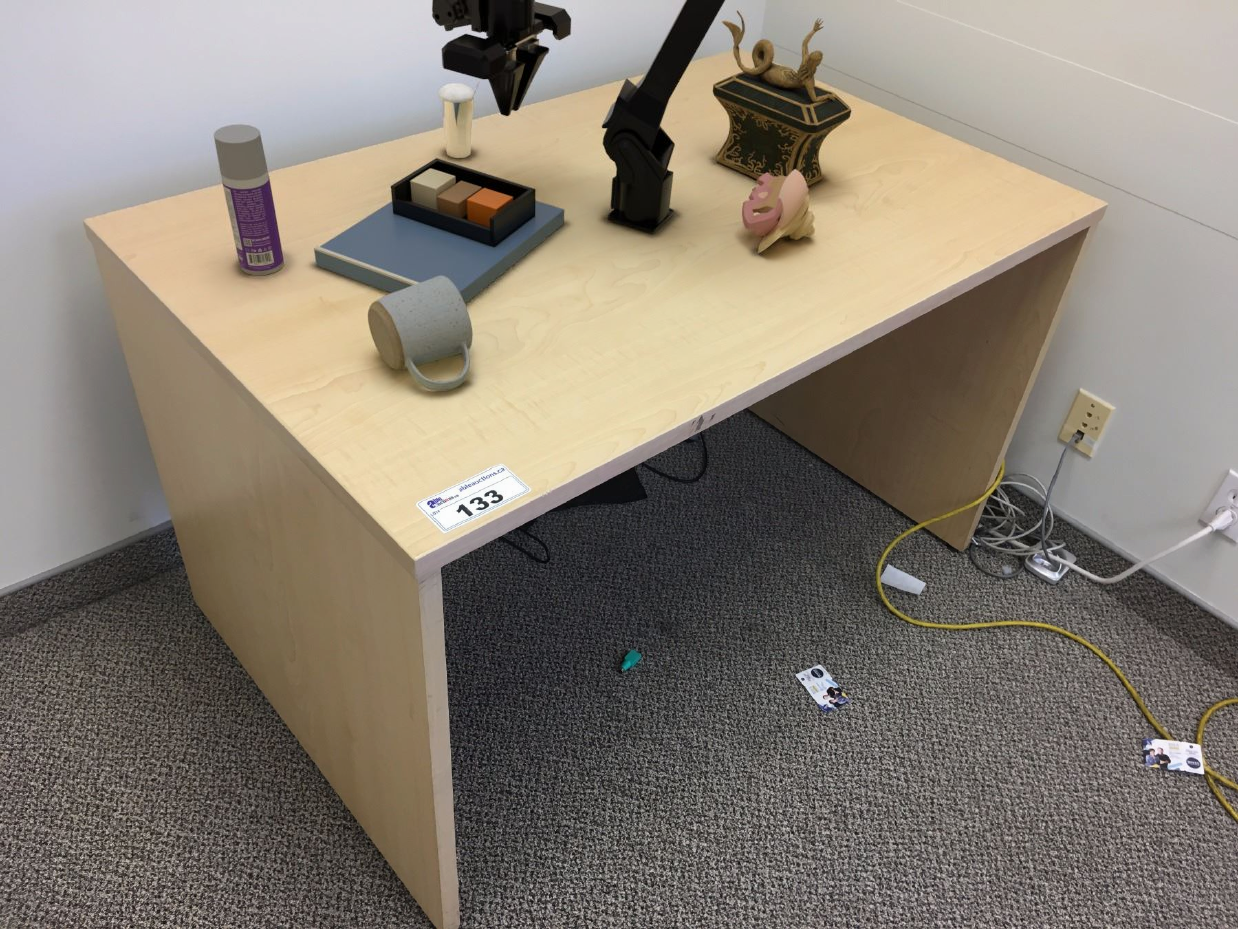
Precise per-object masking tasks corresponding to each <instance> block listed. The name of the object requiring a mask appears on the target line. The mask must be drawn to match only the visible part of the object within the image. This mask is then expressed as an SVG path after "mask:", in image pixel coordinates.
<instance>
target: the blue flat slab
mask: <svg viewBox="0 0 1238 929" xmlns="http://www.w3.org/2000/svg"><path fill="white" fill-rule="evenodd" d="M564 224H565V208H561V207H559V206H555V205H552V204H549V203H545V202H542V201H539V200H536V202H535V217H533V218H532V219H531V220H529V221H528V222H527V223H526V224H524V225H523V226H522V227H520V228H519V229H518V230H516V231H515V232H514V233H513V234H511V235H510V236H509V237H507V238H506V239H505V240H503V241H502V242H501V243H500V244H498V245H497V246H496V247H491V246H488V245H485V244H483V243H480V242H477V241H474V240H471V239H468V238H465V237H462V236H459V235H456V234H453V233H450V232H447V231H444V230H441V229H438V228H435V227H432V226H429V225H426V224H423V223H420V222H417V221H414V220H411V219H408V218H405V217H402V216H399V215H396V214H393V206H392V200H391V201H389V202H388V203H386V204H385V205H384V206H382V207H380V208H379V209H377V210H376V211H374V212H372V213H371V214H369V215H368V216H366V217H364V218H363V219H361V220H360V221H358V222H356V223H355V224H353V225H351V226H350V227H349V228H347V229H345V230H344V231H342V232H340V233H339V234H337V235H336V236H334V237H333V238H331V239H329V240H328V241H326V242H325V243H323V244H321V245H320V246H319V245H315V246H314V247H313V252H314V259H315V266H316V267H318V268H321V269H325V270H327V271H330V272H333V273H336V274H338V275H341V276H344V277H346V278H349V279H351V280H355V281H357V282H360V283H361V284H365V285H368V286H371V287H374V288H376V289H379V290H382V291H385V292H387V293H389V294H391V293H394V292H396V291H399V290H402V289H405V288H407V287H410V286H413V285H415V284H418V283H421V282H424V281H427V280H429V279H432V278H434V277H437V276H445V277H447V278H448V279H450V280H451V281H452V283H453V284H454V285H455V286H456V288H457V289H458V291H459V293H460V294H461V297H462V299H463V300H464V303H465V305H466V304H467V303H468V302H470V301H472V299H474V298H475V297H476V296H477V295H479V294H480V293H481V292H482V291H483V290H484V289H486V288H487V287H488V286H489V285H491V284H492V283H493V282H495V281H496V280H497V279H498V278H499V277H501V276H502V275H503V274H505V273H506V272H507V271H508V270H509V269H510V268H512V267H513V266H514V265H516V264H517V263H518V262H519V261H520V260H522V259H523V258H524V257H525V256H527V255H528V254H529V253H530V252H532V250H534V249H535V248H536V247H538V246H539V245H540V244H542V243H543V242H544V241H545V240H546V239H548V238H549V237H550V236H551V235H552V234H554V233H555V232H556V231H557V230H559V229H560V228H561V227H562V226H563V225H564Z"/></svg>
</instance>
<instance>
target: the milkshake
mask: <svg viewBox="0 0 1238 929" xmlns="http://www.w3.org/2000/svg"><path fill="white" fill-rule="evenodd" d="M479 85H480V82H478V83H477V85H476V88H475V90H473V88H471V87H470V86H468V85H466V84H464V83H459V82H458V83H454V82H449V83H446V84H444V85H443V87H441V88H440V89H439V91H438V99H439V106H440V112H441V118H442V124H443V125H442V126H443V132H444V133H443V134H444V141H445V149H446V155H447V156H449V157H450V158H454V159H464V158H467V157H469V156H471V153H472V134H473V133H472V132H473V131H472V130H473V116H474V104H475V94H476V92H477V90H478V87H479Z"/></svg>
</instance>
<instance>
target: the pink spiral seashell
mask: <svg viewBox="0 0 1238 929" xmlns="http://www.w3.org/2000/svg"><path fill="white" fill-rule="evenodd" d="M755 182H756V183H757V184H759V186H756V187H754V188H752V189H751V192H750V194H749V196H748V200H744V201H743V202H742V206H741V219H742V223H743V226H744V228H745V229H746V230H748V231H752V232H753V233H754V234H755V235H756V236H757V237H763V238H762V240H761V241H760V243H759V245H758V250H757V254H760V253H762V252H763V251H764V250H766V249H767V248H769V247H770V246H772V245H773V244H774V243H775V242H777V240H778V239H780V238H783V237H787V236H789V238H790V239H791V240H795V241H798V240H800V239H801V238H802V237H805V238H810V237H811V236H813V235H814V234H815V232H816V228H815V227H814V222H815V220H816V216H815V215H814V212H813V211H812V210H809V209H810V208H809V207H810V206H809V205H810V195H808V194H809V191H810V190H809V186H807V184H806V181H805V179H804V177H803V175H802V174H801V173H800V172H799V171H797V170H796V169H794V170H793V171H792V172H791V173H790V174H789V175H788V177H787V176H778V177H774V176H771V175H770V174H769V173H768V172H767V173H765V174H763V175H762V176H761V177H759V178H758V179H756V181H755ZM756 213H757V214H756ZM754 214H755V215H754Z"/></svg>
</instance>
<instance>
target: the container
mask: <svg viewBox="0 0 1238 929" xmlns="http://www.w3.org/2000/svg"><path fill="white" fill-rule="evenodd" d="M213 139H214V140H213V141H214V145H215V150H216V155H217V161H218V166H219V172H220V178H221V183H222V188H223V192H224V198H225V203H226V207H227V212H228V216H229V221H230V225H231V232H232V236H233V240H234V246H235V249H236V254H237V258H238V263H239V264H238V265H239V268H240V270H241V271H242V272H244V273H245V274H248V275H253V276H266V275H272V274H273V273H276V272H279V271H281V269H282V268H283V267H284V265H285V260H284V254H283V253H284V252H283V248H282V242H281V237H280V230H279V225H278V219H277V214H276V207H275V202H274V196H273V191H272V184H271V179H270V174H269V168H268V165H267V159H266V154H265V150H264V145H263V140H262V136H261V131H260V129H259V128H257V127H256V126H253V125H250V124H239V123H238V124H229V125H225V126H221V127H219V128H218V129H216V130H215V131H214V133H213Z"/></svg>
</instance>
